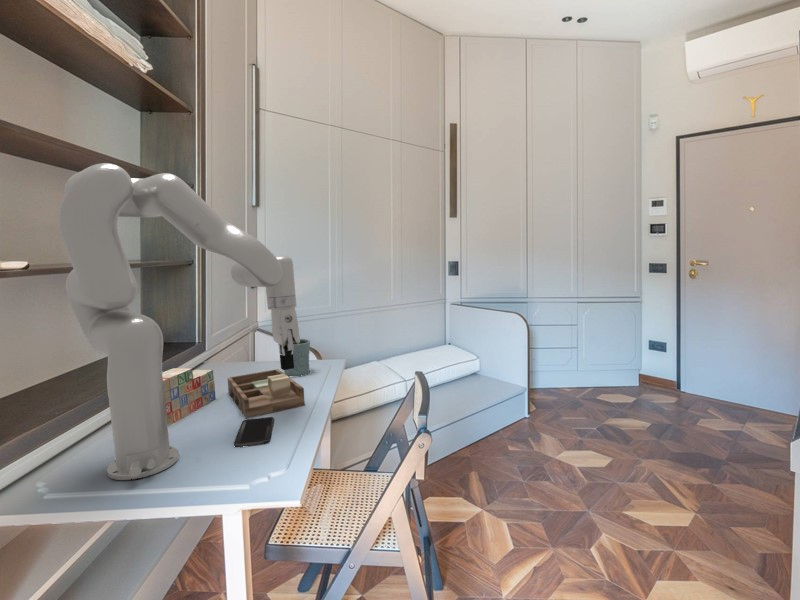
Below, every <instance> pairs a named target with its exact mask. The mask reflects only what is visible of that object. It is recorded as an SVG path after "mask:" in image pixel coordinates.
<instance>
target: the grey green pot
mask: <svg viewBox="0 0 800 600" xmlns="http://www.w3.org/2000/svg"><path fill="white" fill-rule="evenodd" d="M310 344H311V341H310V340H309V339H306V338H305V339H304V338H300V343H299V344H296V343H294V342H293V346H294V350H293V359H294V368H293V369H288V370H283V371H284V372H283V373H284V374H286V375H287V376H299V377H302V376H301V375H304V376H306V375H305V374H307V375H308V374H309V373H310V349H311V348H310V347H311V346H310Z"/></svg>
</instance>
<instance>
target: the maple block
mask: <svg viewBox="0 0 800 600" xmlns="http://www.w3.org/2000/svg"><path fill="white" fill-rule="evenodd" d="M290 378H291V377H288V376H287V375H286V374H285V373H284V374H281V375H275V376H269V377H268V390H269V394H270V395H271V396H272V397H273V398H276V397H280V396H285V395H290V394H291V391H290Z"/></svg>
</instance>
